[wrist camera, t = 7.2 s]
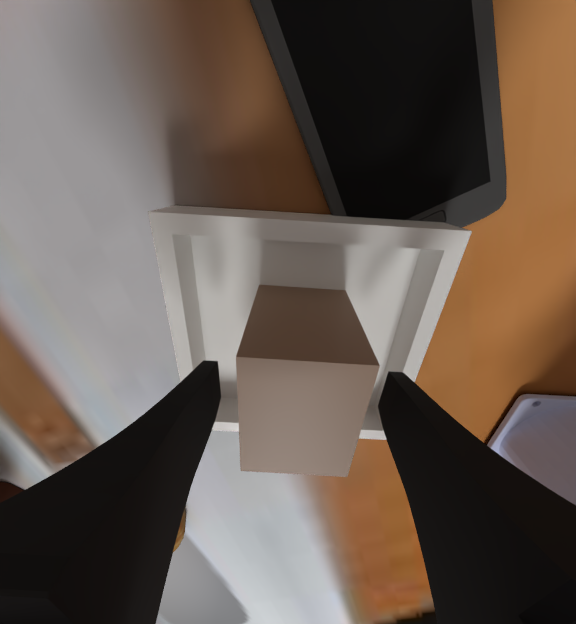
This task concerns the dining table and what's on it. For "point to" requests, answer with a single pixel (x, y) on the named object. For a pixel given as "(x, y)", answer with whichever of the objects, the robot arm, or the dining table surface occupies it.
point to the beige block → (302, 382)
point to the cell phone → (394, 103)
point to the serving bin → (301, 283)
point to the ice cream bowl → (8, 491)
